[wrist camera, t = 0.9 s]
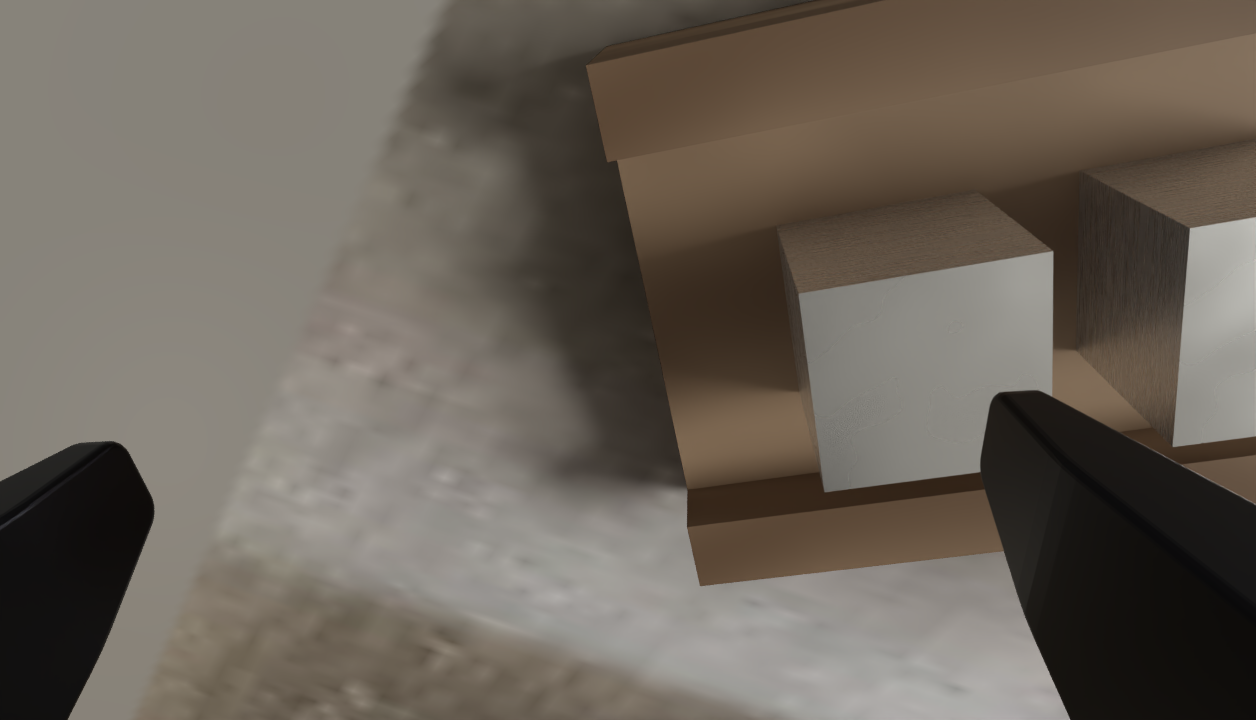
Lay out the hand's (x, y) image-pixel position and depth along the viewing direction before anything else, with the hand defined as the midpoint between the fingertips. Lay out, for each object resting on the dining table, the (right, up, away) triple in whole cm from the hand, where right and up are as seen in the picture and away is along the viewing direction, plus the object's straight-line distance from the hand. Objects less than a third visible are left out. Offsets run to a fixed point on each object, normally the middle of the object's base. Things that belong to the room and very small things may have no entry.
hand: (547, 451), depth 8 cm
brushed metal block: (+6, +2, +9) cm, 11 cm away
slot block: (+9, +4, +11) cm, 15 cm away
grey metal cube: (+12, +3, +8) cm, 15 cm away
